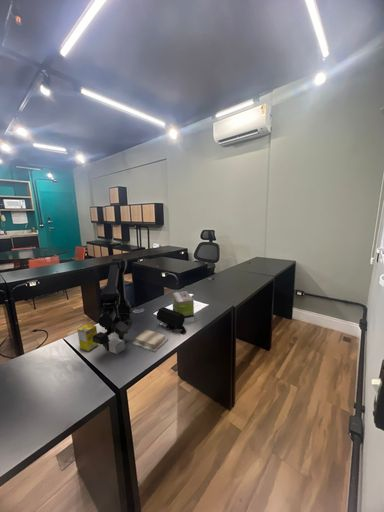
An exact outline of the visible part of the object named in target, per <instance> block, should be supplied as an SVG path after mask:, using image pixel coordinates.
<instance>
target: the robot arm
mask: <svg viewBox="0 0 384 512" xmlns="http://www.w3.org/2000/svg"><path fill="white" fill-rule="evenodd" d="M108 263H109V266H108V267H109V271H108V276H107V281H106V282H107V283H106V285H105V286H104V287H103V289H102V292H101V293H100V296H99V304H98V305H99V307H98V310H102V313H101V314H100V316H99V318H98V321H97V323H98V325H99V326H100V327H101V328H104V330H105V332H102V331H99V332H97V334H95V335H94V336H93V342H95V343H98V345H102V346H103V347H104V350H105V349H106V352H110V351H109V341H110V340H109V339H110V337H109V336H111V335H112V334H114V333H116V335H117V336H118V339H120V340H123V341H124V337H125V335H127V334H128V333H129V330H130V329H131V328H132V322H133V320H131V314H133V310H132V307H131V304H130V301H129V299H128V298H127V296H126V287H125V286H126V285H125V284H126V283H125V271H126V270H127V267H128V260H127V259H125V257H117V258H116V257H115V258H112V260H109V261H108Z"/></svg>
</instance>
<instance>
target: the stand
mask: <svg viewBox="0 0 384 512" xmlns="http://www.w3.org/2000/svg"><path fill="white" fill-rule="evenodd" d="M168 341H169V338H168V337H166V335H165V334H162V333H159V332H156V331H154V330H153V331H152V330H150V329H145V330H144V331H143V332H142V333H140V334H139V335H137V336H136V337H135V338H134V341H133V342H132V343H131V344H132V345H133V346H137V347H139V348H142V349H145V350H147V351H150V352H153V353H157V351H158V350H159V349H160V348H162V346H164V345H165V344H166V343H167V342H168Z"/></svg>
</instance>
